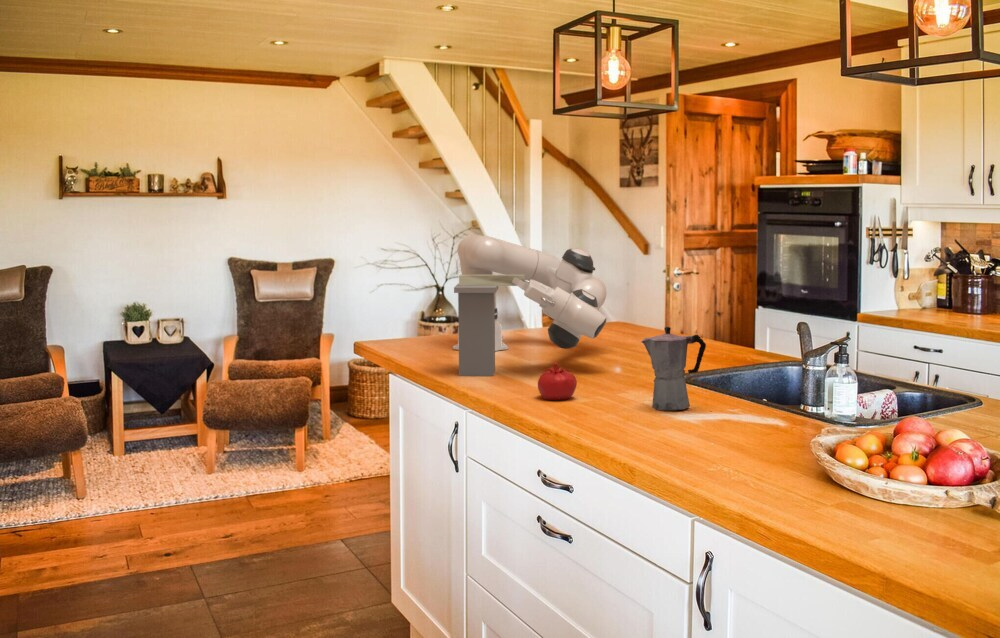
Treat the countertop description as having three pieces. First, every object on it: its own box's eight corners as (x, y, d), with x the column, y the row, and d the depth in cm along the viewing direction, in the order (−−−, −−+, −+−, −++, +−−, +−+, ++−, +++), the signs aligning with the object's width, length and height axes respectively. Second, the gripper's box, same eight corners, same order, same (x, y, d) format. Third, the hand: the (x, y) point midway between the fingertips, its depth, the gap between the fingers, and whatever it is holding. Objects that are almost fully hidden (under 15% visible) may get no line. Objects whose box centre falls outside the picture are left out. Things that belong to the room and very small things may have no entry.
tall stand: (459, 368, 285) (458, 283, 282) (498, 368, 284) (498, 283, 281) (455, 377, 271) (454, 287, 268) (496, 377, 271) (496, 287, 267)
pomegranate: (579, 402, 238) (579, 366, 236) (539, 402, 237) (540, 366, 235) (572, 393, 247) (573, 359, 246) (535, 394, 247) (535, 359, 245)
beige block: (460, 284, 276) (460, 274, 276) (524, 284, 276) (524, 274, 275) (459, 285, 273) (459, 275, 273) (524, 285, 272) (524, 275, 272)
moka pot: (639, 403, 235) (640, 324, 233) (701, 404, 234) (703, 324, 231) (641, 411, 226) (642, 329, 223) (706, 412, 224) (708, 329, 222)
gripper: (549, 315, 264) (506, 291, 264) (548, 307, 284) (509, 284, 284) (560, 296, 263) (517, 271, 263) (559, 289, 284) (519, 266, 283)
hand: (513, 278), depth 274 cm, fingers closed on beige block, 3 cm apart
